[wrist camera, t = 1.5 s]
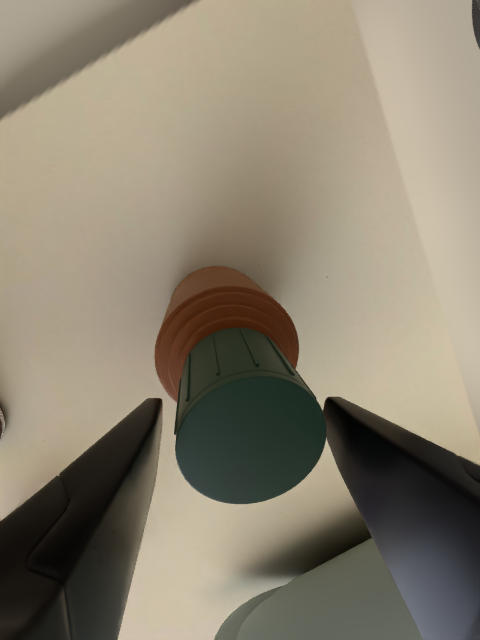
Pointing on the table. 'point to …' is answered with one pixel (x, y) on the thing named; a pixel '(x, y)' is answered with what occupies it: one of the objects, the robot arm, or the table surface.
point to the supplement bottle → (1, 424)
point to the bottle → (217, 319)
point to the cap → (245, 419)
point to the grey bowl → (328, 604)
